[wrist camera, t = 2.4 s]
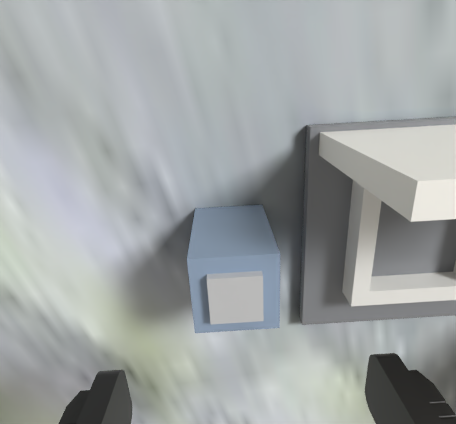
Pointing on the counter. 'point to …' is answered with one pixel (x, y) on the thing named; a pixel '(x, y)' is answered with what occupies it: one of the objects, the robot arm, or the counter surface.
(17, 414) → the counter surface
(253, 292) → the block
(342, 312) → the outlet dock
